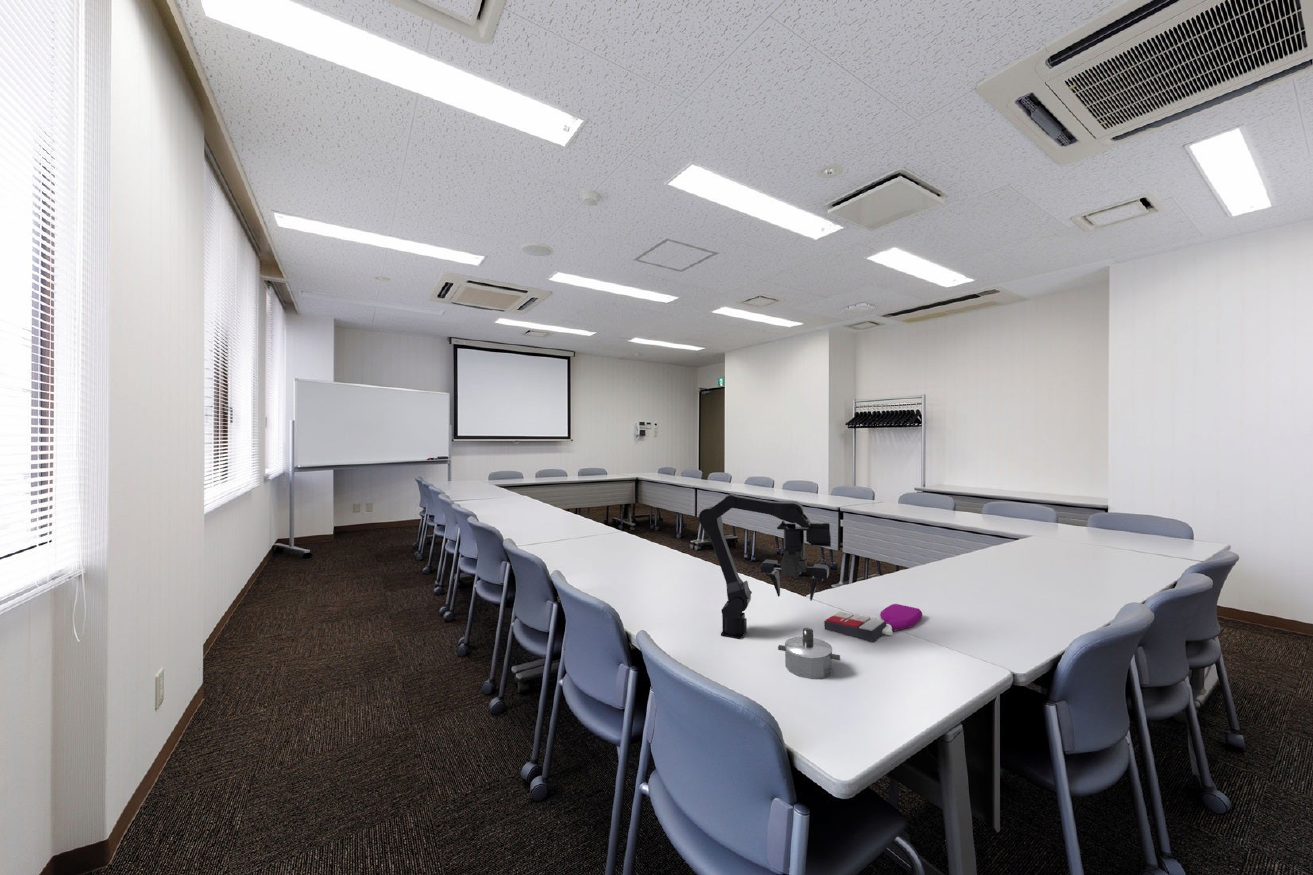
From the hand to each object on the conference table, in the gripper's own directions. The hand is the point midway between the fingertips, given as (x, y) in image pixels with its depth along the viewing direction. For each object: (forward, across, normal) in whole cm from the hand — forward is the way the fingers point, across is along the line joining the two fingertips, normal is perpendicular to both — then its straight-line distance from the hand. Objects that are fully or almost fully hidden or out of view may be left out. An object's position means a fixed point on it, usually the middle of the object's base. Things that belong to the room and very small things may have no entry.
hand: (794, 598), depth 141 cm
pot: (+12, +6, -16) cm, 21 cm away
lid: (+8, +6, -16) cm, 19 cm away
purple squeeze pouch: (+13, +26, +26) cm, 39 cm away
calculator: (+13, +15, +16) cm, 26 cm away
